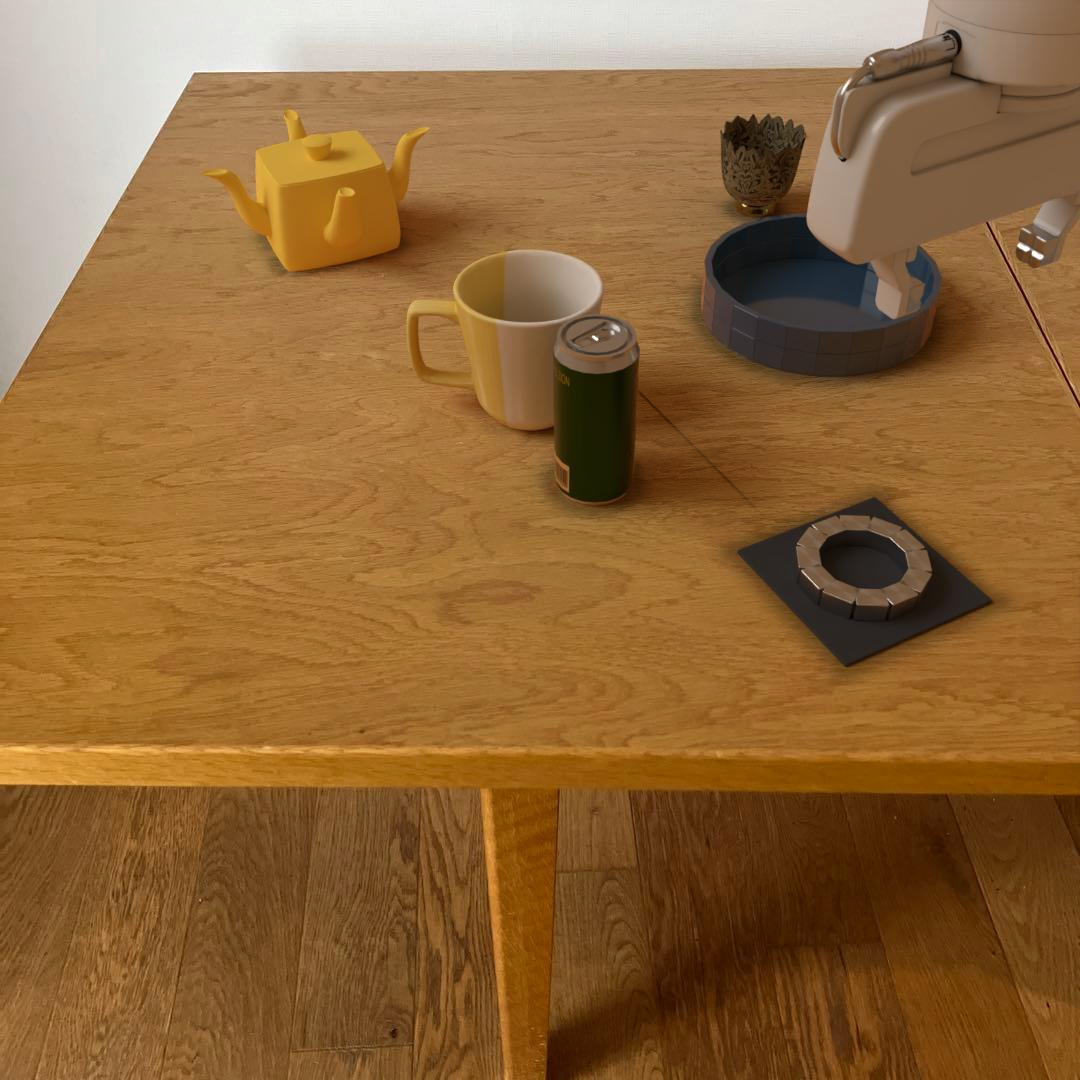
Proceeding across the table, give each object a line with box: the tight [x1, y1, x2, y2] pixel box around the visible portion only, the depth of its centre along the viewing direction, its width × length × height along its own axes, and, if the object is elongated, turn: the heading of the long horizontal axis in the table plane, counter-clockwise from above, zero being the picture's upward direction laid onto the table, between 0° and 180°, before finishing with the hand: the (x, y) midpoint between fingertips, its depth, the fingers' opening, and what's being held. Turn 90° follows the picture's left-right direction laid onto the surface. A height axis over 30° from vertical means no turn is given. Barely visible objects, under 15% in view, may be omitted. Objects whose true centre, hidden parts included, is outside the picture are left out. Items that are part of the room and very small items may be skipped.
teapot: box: [200, 108, 430, 272], centre depth 104 cm, size 15×14×10 cm
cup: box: [719, 113, 807, 219], centre depth 107 cm, size 8×7×8 cm
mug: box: [405, 249, 605, 432], centre depth 85 cm, size 14×10×10 cm
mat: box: [736, 496, 993, 668], centre depth 74 cm, size 11×11×1 cm
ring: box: [793, 515, 932, 621], centre depth 74 cm, size 8×8×1 cm
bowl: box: [700, 213, 943, 378], centre depth 95 cm, size 18×18×4 cm
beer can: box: [553, 313, 641, 506], centre depth 78 cm, size 5×5×12 cm
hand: (967, 285), depth 63 cm, fingers open, 8 cm apart
